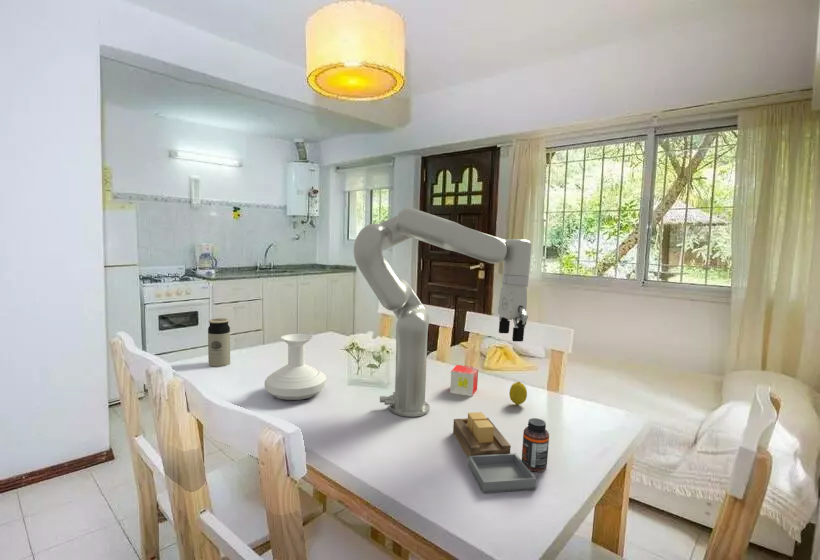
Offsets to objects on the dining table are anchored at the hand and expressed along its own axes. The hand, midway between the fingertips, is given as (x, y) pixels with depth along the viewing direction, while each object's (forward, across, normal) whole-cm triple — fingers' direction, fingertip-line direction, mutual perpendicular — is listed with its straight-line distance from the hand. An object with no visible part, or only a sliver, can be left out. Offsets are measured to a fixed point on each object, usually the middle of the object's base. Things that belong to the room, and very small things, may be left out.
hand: (510, 336), depth 129 cm
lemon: (+25, -7, +8) cm, 27 cm away
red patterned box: (+25, -22, -6) cm, 34 cm away
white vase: (+27, -26, -63) cm, 73 cm away
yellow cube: (+22, +14, -14) cm, 30 cm away
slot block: (+25, +17, -14) cm, 33 cm away
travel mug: (+28, -61, -95) cm, 116 cm away
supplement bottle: (+25, +28, -5) cm, 38 cm away
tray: (+25, +32, -15) cm, 43 cm away
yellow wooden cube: (+22, +19, -14) cm, 33 cm away
